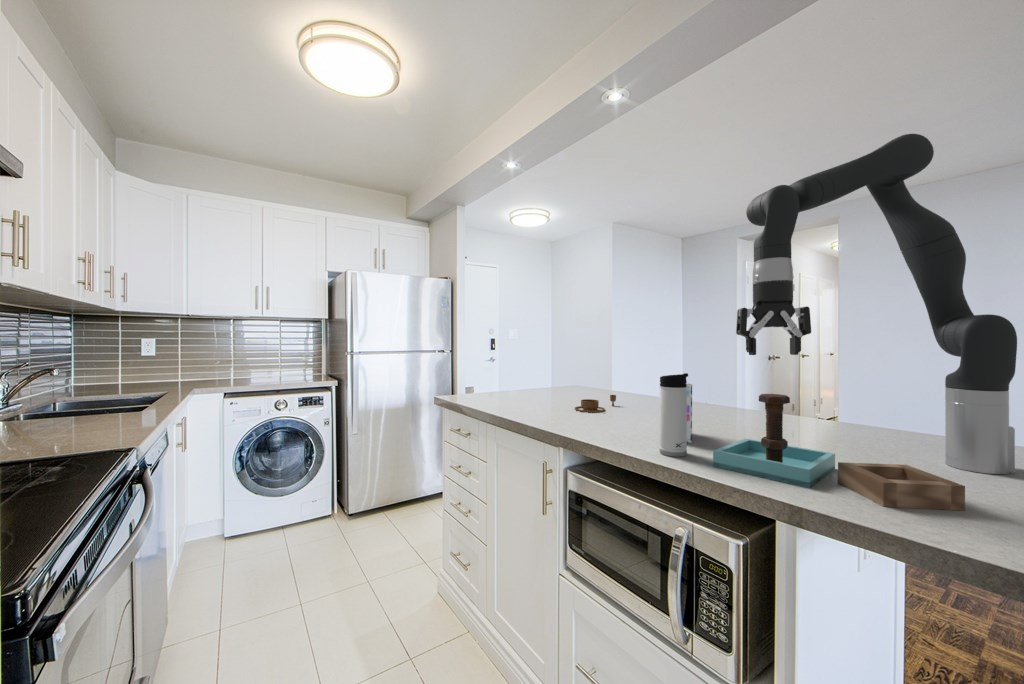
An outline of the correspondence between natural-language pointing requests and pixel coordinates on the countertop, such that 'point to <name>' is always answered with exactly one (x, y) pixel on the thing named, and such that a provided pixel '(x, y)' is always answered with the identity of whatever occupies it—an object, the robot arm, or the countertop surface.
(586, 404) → the place setting
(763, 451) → the tray
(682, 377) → the travel mug
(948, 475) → the countertop surface
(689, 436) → the candy box
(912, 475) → the tray
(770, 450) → the bolt
